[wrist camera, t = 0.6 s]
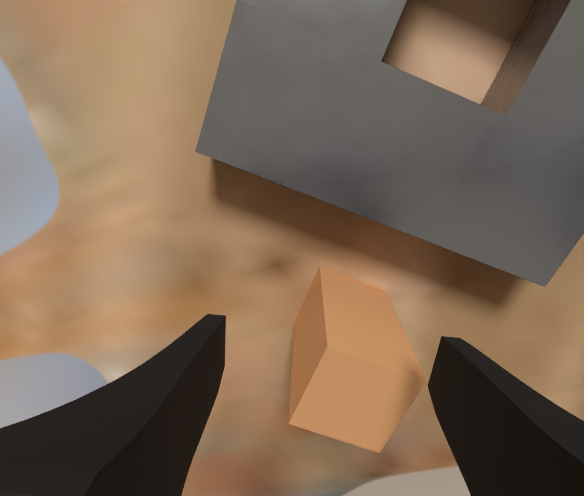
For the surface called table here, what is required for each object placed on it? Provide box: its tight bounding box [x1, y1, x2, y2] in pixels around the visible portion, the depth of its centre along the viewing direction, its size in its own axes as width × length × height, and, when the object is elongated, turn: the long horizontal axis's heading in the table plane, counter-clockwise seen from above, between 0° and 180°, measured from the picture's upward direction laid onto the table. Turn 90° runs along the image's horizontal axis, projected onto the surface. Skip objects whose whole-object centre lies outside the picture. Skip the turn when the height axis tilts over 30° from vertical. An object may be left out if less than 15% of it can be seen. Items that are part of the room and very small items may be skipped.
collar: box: [195, 0, 584, 287], centre depth 15 cm, size 19×19×3 cm
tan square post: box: [289, 267, 427, 453], centre depth 19 cm, size 4×4×8 cm
